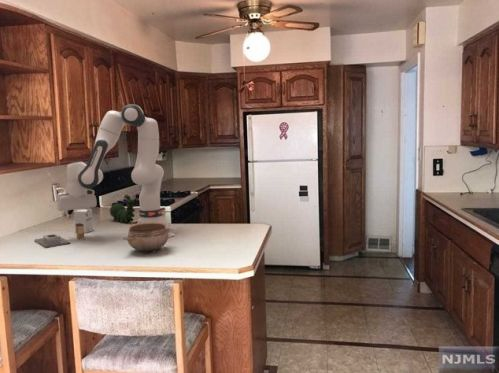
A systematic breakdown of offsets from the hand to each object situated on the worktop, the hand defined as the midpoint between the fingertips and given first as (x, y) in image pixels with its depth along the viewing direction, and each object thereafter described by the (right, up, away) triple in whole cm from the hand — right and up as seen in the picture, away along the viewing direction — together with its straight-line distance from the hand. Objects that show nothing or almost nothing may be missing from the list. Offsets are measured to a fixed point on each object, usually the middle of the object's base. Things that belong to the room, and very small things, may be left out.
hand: (77, 217), depth 231 cm
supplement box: (-4, -10, +19) cm, 21 cm away
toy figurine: (+10, -6, +46) cm, 47 cm away
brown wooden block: (+1, -12, +1) cm, 12 cm away
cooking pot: (+45, -14, -28) cm, 55 cm away
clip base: (-11, -13, -6) cm, 18 cm away
